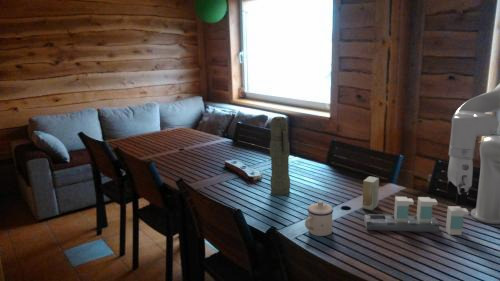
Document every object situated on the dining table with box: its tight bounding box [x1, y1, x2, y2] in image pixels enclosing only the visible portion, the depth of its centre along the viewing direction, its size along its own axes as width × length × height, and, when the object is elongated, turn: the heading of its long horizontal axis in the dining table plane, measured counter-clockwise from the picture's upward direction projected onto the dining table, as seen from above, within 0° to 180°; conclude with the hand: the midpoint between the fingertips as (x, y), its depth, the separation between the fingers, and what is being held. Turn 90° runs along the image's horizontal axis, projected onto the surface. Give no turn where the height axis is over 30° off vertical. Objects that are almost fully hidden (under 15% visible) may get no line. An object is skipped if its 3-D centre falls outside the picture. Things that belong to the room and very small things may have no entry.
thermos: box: [269, 116, 291, 197], centre depth 181 cm, size 9×12×35 cm
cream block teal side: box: [416, 196, 438, 223], centre depth 145 cm, size 6×5×9 cm
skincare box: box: [362, 176, 380, 211], centre depth 164 cm, size 6×4×12 cm
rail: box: [363, 213, 441, 233], centre depth 148 cm, size 25×7×3 cm, turn 81°
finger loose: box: [445, 205, 470, 236], centre depth 141 cm, size 6×5×9 cm
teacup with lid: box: [304, 200, 334, 237], centre depth 145 cm, size 12×9×12 cm
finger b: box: [393, 196, 415, 223], centre depth 146 cm, size 6×5×9 cm
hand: (455, 199), depth 139 cm, fingers open, 9 cm apart
